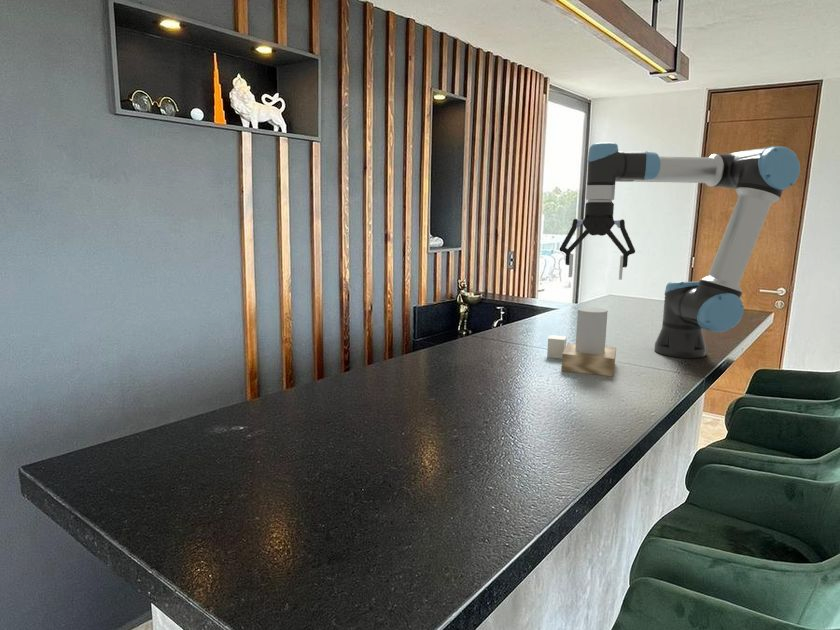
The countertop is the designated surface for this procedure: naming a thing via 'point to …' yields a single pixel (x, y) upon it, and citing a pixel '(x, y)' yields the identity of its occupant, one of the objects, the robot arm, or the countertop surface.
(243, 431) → the countertop surface
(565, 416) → the countertop surface
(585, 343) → the grey cylinder
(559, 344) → the cream block
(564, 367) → the oak block
